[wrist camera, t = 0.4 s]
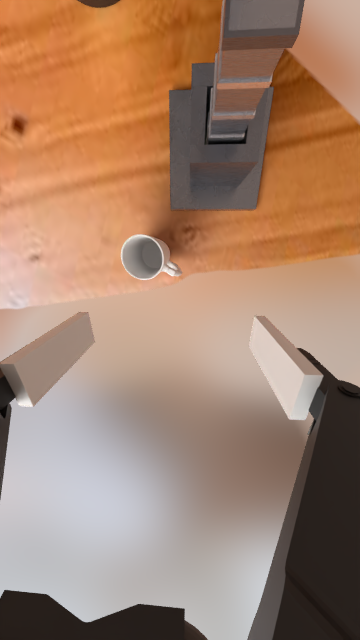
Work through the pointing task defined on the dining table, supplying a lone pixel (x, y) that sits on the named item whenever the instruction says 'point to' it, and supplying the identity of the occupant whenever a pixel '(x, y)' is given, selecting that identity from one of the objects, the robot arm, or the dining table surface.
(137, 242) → the mug
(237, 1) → the column
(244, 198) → the sleeve
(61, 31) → the dining table surface
